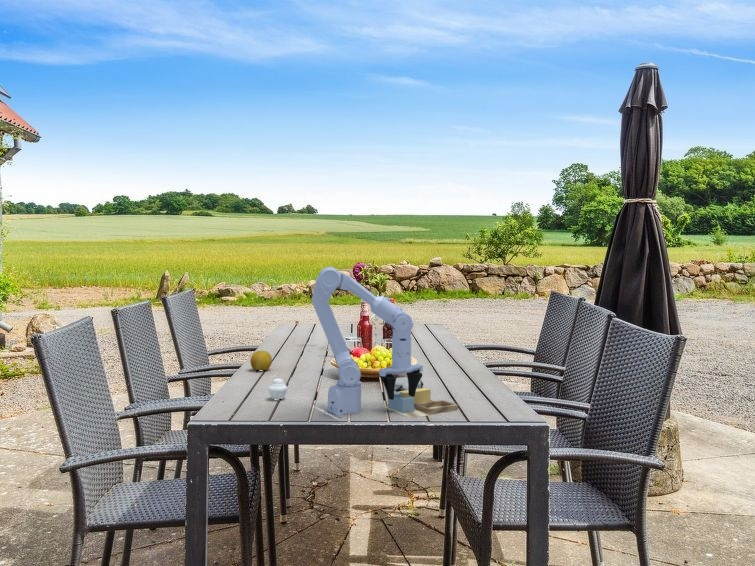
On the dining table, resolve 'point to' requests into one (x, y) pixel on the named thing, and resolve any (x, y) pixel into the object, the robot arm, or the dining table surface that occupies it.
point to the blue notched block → (401, 403)
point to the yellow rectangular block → (418, 395)
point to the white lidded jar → (277, 389)
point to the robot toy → (405, 384)
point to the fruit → (261, 360)
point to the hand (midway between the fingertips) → (401, 397)
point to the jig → (429, 408)
